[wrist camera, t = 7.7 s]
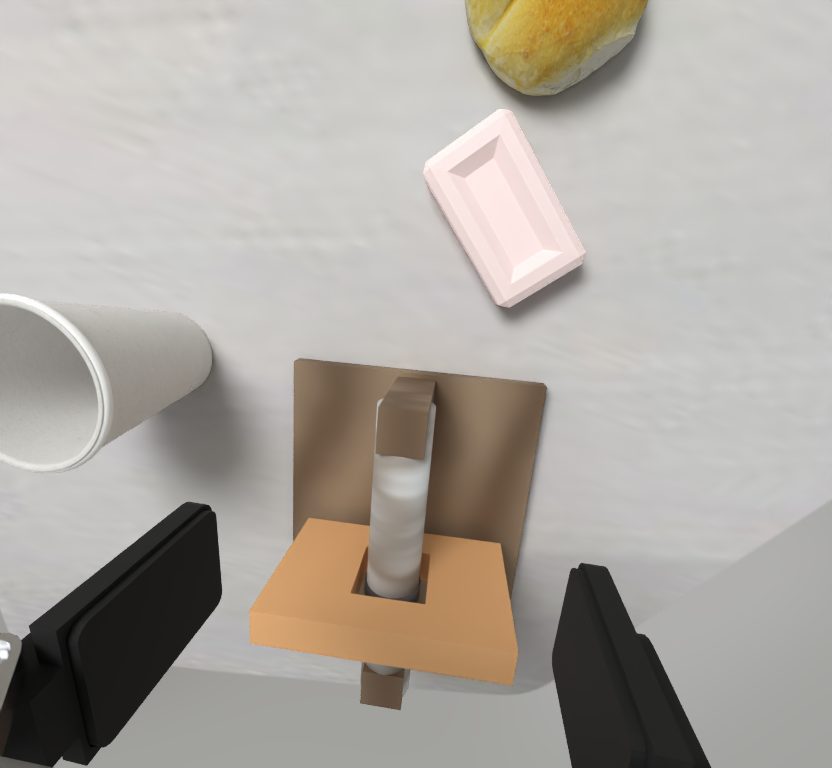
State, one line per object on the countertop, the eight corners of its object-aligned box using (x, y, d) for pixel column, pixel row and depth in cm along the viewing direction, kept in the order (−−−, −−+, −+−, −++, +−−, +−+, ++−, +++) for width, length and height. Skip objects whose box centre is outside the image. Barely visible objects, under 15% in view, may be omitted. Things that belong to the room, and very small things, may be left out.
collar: (500, 543, 26) (518, 652, 18) (496, 569, 27) (512, 685, 19) (308, 517, 27) (249, 610, 19) (308, 543, 28) (250, 643, 20)
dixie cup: (255, 363, 27) (143, 408, 17) (176, 432, 29) (35, 506, 19) (169, 263, 26) (-2, 251, 16) (93, 341, 28) (-101, 372, 18)
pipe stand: (543, 383, 25) (578, 423, 18) (502, 625, 30) (517, 735, 23) (299, 358, 26) (239, 386, 19) (298, 594, 31) (249, 690, 24)
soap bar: (498, 309, 25) (503, 312, 22) (422, 177, 23) (418, 164, 21) (578, 261, 24) (591, 258, 21) (503, 119, 22) (508, 99, 20)
